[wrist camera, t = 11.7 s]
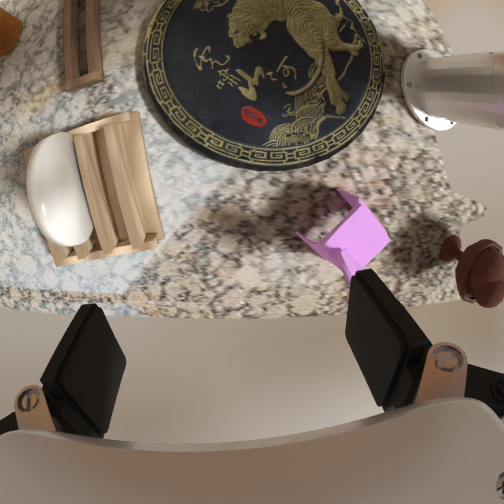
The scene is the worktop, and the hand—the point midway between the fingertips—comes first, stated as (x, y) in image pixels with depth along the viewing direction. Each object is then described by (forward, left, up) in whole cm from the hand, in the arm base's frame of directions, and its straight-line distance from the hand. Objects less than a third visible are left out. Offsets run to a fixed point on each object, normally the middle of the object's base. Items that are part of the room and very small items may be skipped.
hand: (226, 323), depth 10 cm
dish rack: (+16, -2, -26) cm, 31 cm away
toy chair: (-14, +8, -27) cm, 31 cm away
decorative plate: (-8, -15, -27) cm, 32 cm away
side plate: (+16, -4, -19) cm, 25 cm away
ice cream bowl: (-38, +16, -26) cm, 49 cm away
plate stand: (+14, -23, -26) cm, 38 cm away
